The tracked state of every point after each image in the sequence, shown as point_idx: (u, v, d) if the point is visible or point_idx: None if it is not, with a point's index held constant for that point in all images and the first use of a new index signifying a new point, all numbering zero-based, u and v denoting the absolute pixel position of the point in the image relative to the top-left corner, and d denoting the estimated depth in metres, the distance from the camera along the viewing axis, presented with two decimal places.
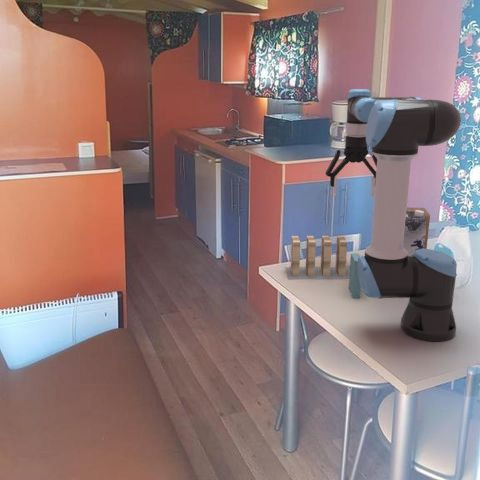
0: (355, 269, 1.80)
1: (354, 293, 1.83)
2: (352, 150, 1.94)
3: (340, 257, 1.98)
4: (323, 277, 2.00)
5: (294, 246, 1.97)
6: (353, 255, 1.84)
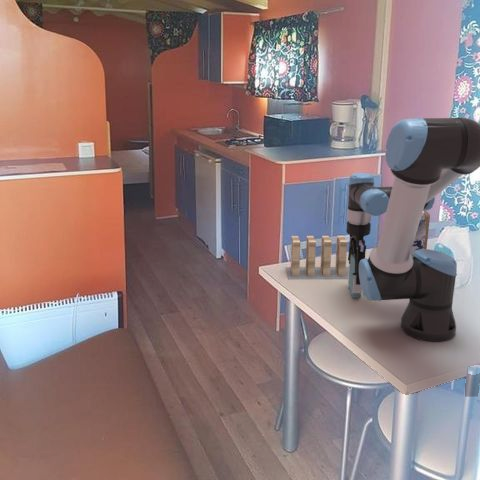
0: None
1: (354, 293, 1.83)
2: None
3: (340, 257, 1.98)
4: (323, 277, 2.00)
5: (294, 246, 1.97)
6: (353, 255, 1.84)
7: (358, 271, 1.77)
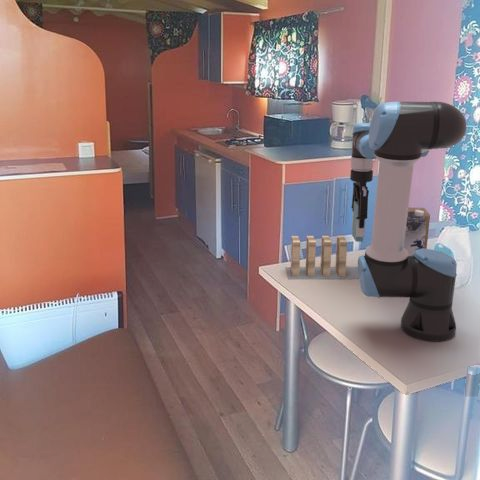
0: None
1: (357, 237, 1.96)
2: None
3: (340, 257, 1.98)
4: (323, 277, 2.00)
5: (294, 246, 1.97)
6: (356, 202, 1.97)
7: (361, 215, 1.90)
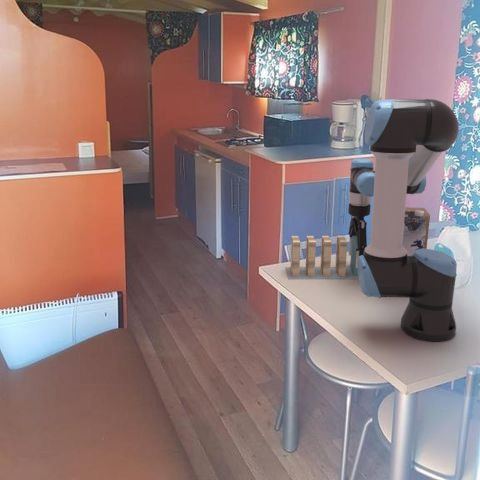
0: None
1: (355, 272, 2.00)
2: (354, 215, 1.99)
3: (340, 257, 1.98)
4: (323, 277, 2.00)
5: (294, 246, 1.97)
6: (354, 237, 2.01)
7: (361, 246, 1.91)
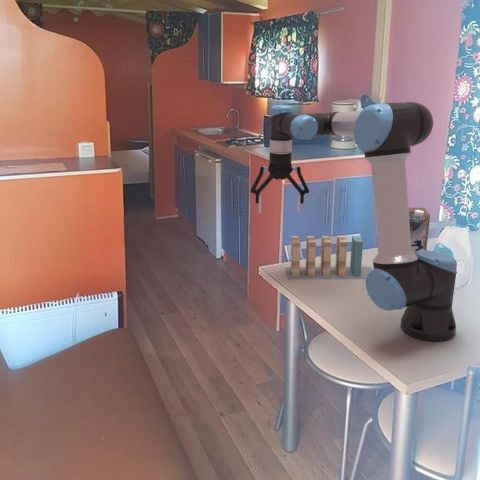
0: (356, 249, 1.97)
1: (355, 272, 2.00)
2: (276, 167, 1.91)
3: (340, 257, 1.98)
4: (323, 277, 2.00)
5: (294, 246, 1.97)
6: (354, 237, 2.01)
7: None
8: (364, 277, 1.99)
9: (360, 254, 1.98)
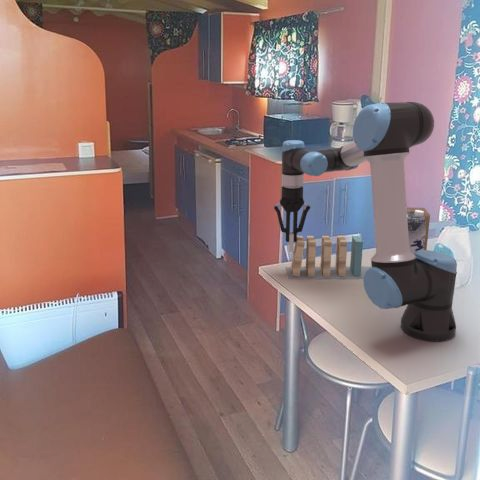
0: (356, 249, 1.97)
1: (355, 272, 2.00)
2: (285, 198, 1.94)
3: (340, 257, 1.98)
4: (323, 277, 2.00)
5: (298, 246, 1.97)
6: (354, 237, 2.01)
7: (302, 228, 1.98)
8: None
9: (360, 254, 1.98)
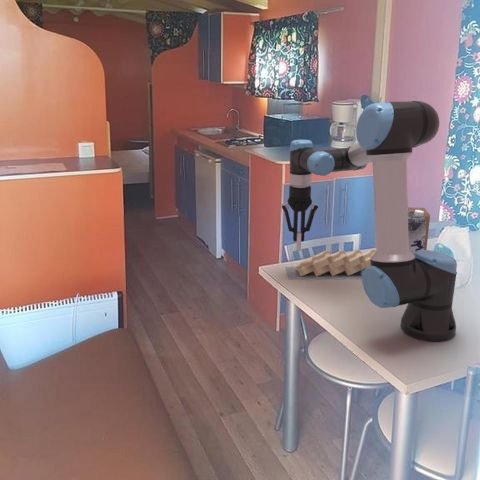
0: None
1: None
2: (293, 197, 1.94)
3: (363, 262, 1.99)
4: (323, 277, 2.00)
5: (327, 258, 1.98)
6: None
7: None
8: None
9: None
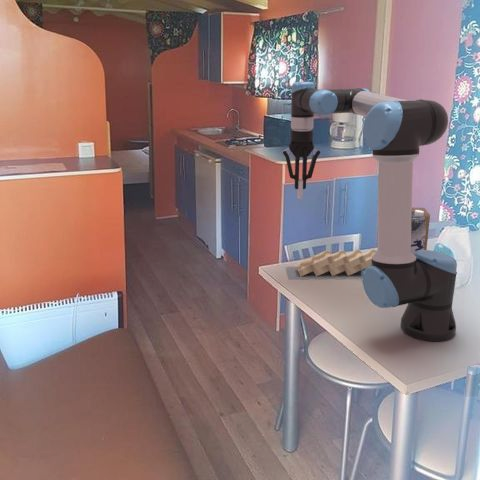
0: None
1: None
2: (295, 142, 1.88)
3: (363, 262, 1.99)
4: (323, 277, 2.00)
5: (327, 258, 1.98)
6: None
7: None
8: None
9: None
